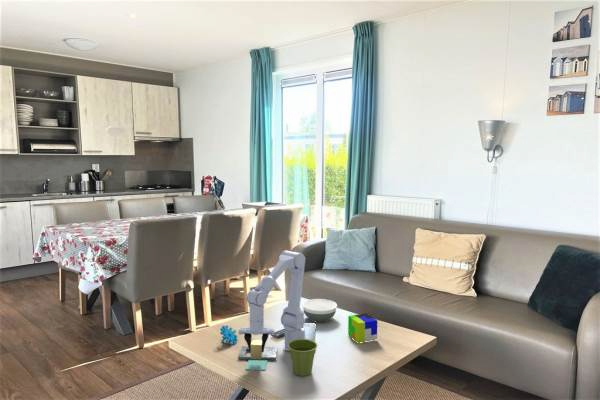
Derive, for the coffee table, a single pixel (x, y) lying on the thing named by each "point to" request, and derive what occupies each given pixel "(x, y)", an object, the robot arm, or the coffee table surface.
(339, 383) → the coffee table surface
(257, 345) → the brass block
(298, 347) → the plant pot
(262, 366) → the teal mat
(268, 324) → the coffee table surface
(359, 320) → the puzzle toy
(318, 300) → the bowl
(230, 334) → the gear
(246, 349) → the rail plate
